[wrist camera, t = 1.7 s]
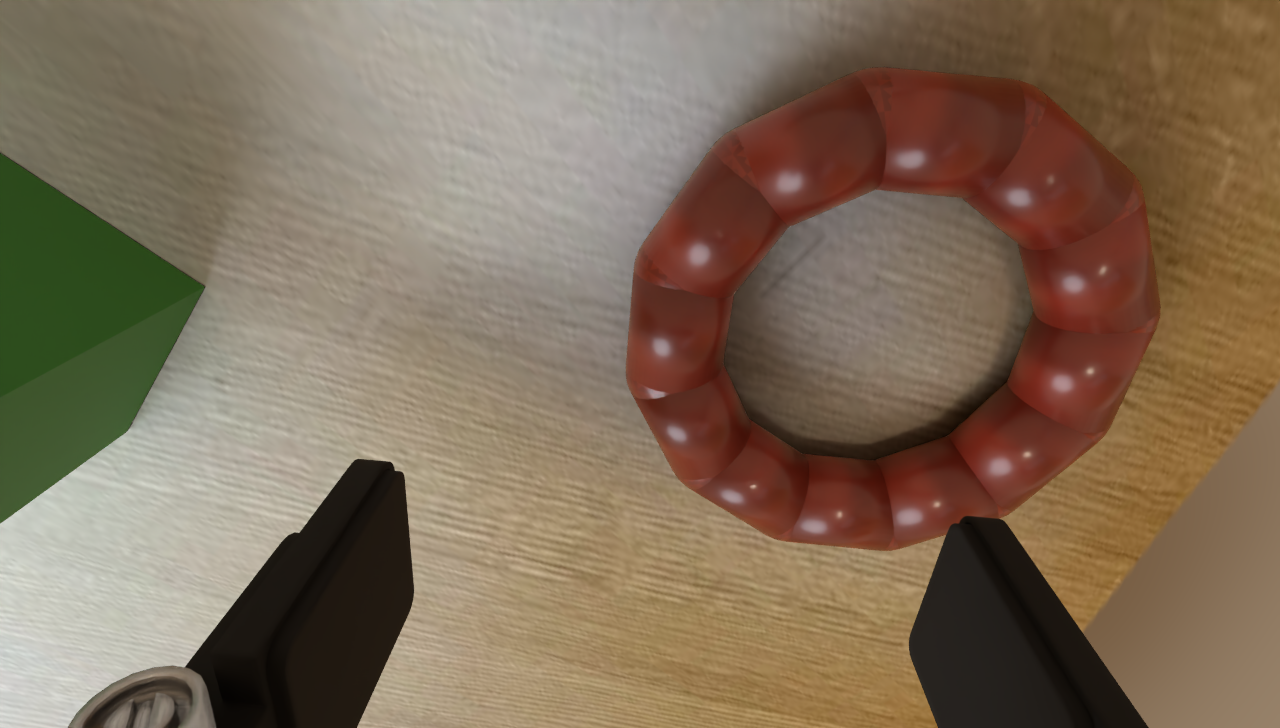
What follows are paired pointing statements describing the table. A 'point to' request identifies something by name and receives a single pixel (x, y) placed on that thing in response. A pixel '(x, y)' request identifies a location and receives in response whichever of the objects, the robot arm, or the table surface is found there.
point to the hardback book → (73, 333)
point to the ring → (913, 163)
